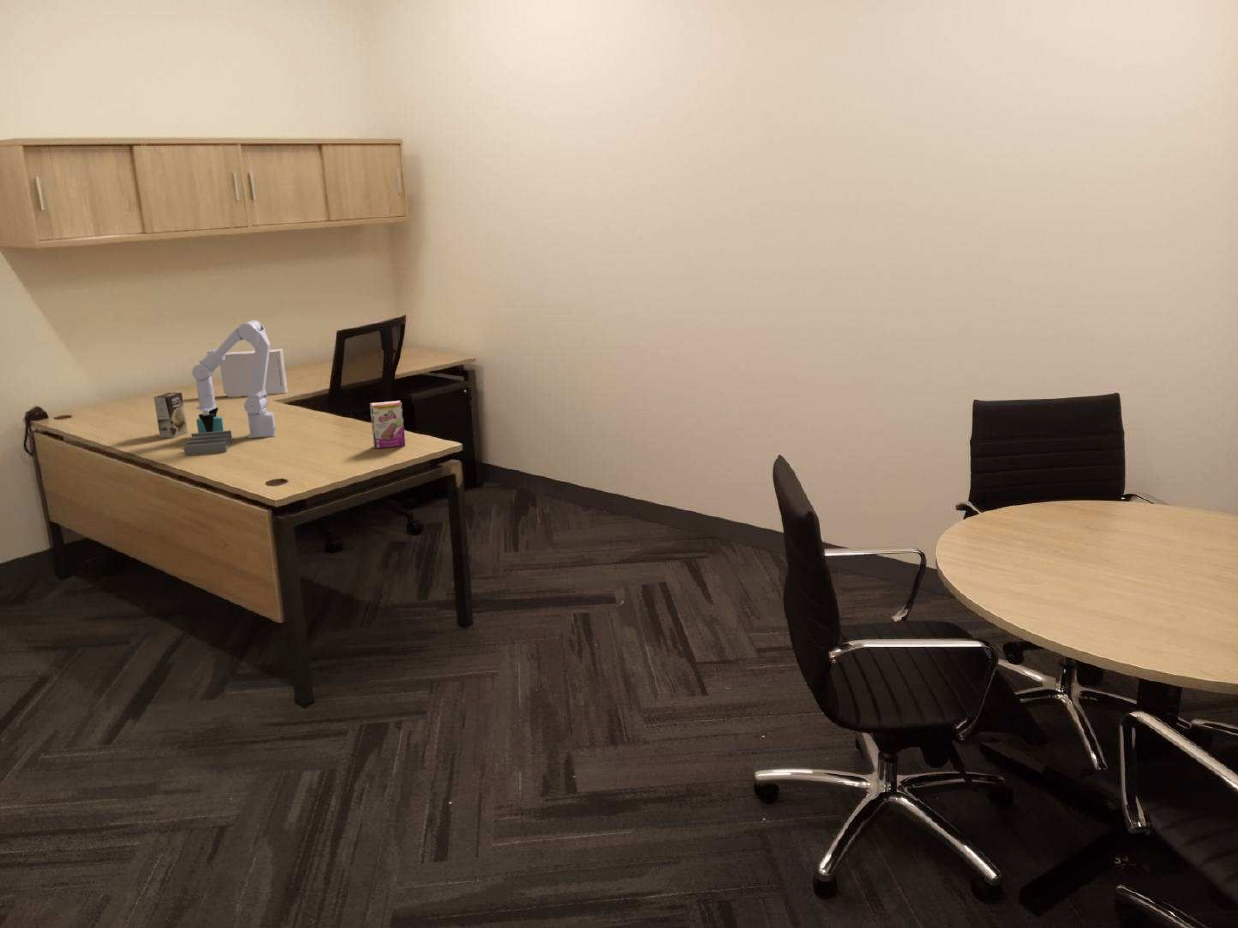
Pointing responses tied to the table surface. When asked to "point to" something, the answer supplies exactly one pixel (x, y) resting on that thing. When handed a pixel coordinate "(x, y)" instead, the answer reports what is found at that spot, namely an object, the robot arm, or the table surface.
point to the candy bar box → (387, 424)
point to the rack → (208, 442)
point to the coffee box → (170, 415)
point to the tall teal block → (217, 425)
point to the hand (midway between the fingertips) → (211, 429)
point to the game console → (240, 373)
